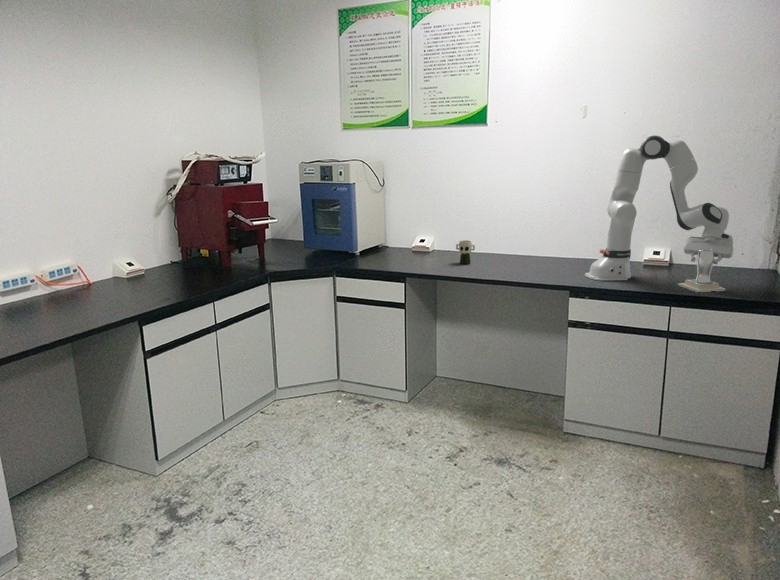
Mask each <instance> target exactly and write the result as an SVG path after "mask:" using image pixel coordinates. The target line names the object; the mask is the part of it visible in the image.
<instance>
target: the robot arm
mask: <svg viewBox="0 0 780 580" xmlns="http://www.w3.org/2000/svg"><path fill="white" fill-rule="evenodd" d="M657 159H664V160H665V162H666V163H667V166H668V168H669V170H670V173H671V180H670V182H669V189H670V193H671V196H672V197H671V198H672V201H673V205H674V210H675V212H676V222H677V224H678V226H679V227H680V228H681V229H682V230H685V231H691V230H694V229H696V228H698V227H704V229H703V231H702V235H701V237H700V236H689V237H687V238H686V241H685V244H684V246H683V252H684V253H685V254H686V255H690V258H691V259H690V261H691V262H692V263H695V262H696V261H697V257H696V256H697V255H698V250H699V249H705V250H703V251H712V250H715V254H714V262H713V265H718V264H719V262H720V261H722V260H723V259H731V258H732V257H733V255H734V245H733V244H734V239H733V236H732V235H731V234H727V233H725V231H726V230H727V227H728V225H729V220H730V215H729V211H728V210H727V209H726V208H725V207H722V206H716V205H715V204H713V203H711V202H705V203H702V204H698V205H697V206H693V207H689V205H688V202H687V197H686V194H685V191H686V187H687V186H688V185H689V184H690V183H691V182H692V181H693V180H694V179H695V177H696V176H697V173H698V172H699V171H698V169H699V167H698V164H697V160H696V158H695V155H693V153H692V151H691V149H690V148H689V146H688V144H687V143H686V142H685V141H683V140H674V141H671V142H669V141H666V140H665V139H664V138H663V137H662V136H661V135H660V136H659V135H650V136H648V137H646V138H645V139H644V140H642V143H641V145H640V146H639V147H635V148H634V147H633V148H631V147H630V148H627V149H625V150H624V152H623V153H622V155H621V159H620V161H619V164H618V168H617V172H616V177H615V183H614V185H613V190H612V192H611V196H610V199H609V203H608V205H607V209H606V210H607V215H608V216H609V218H610V225H609V230H608V232H607V240H606V248H605V250H604V249H602V248H600V249H599V254H602V256H601V257H600V258H598V259H597V260H595V261H593V262H592V263H591V265H590V267H589V272H585V273H584V276H585V277H586V278H588V279H590V280H593V281H628V280H629V279H631V278H632V273H631V267H630V260H631V254H632V252H631V251H632V249H631V243H632V233H633V229H634V225H635V222H636V221H635V220H636V217H637V213H638V212H637V208H636V206H635V204H634V203H633V202H634V199H635V198H636V194H637V192H638V190H639V188H640V184H641V177H642V174H643V169H644V165H645V163H646V161H648V160H649V161H650V160H652V161H653V160H657ZM710 249H712V250H710ZM715 258H716V259H715Z"/></svg>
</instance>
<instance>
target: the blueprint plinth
mask: <svg viewBox="0 0 780 580" xmlns="http://www.w3.org/2000/svg"><path fill="white" fill-rule="evenodd" d="M695 280H696V278H693V279H685V280H684V282H679V283H677V286H679V287H682V288H685V289H686V288H687V289H686V290H689V291H692V292H694V291H695V293H697V292H701V293H712V292H711V291H716V292H725V291H726V288H724V287H722V286H720V283H718V282H715V281H712V280H710V283H699V282H696V281H695Z"/></svg>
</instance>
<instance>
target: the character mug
mask: <svg viewBox="0 0 780 580" xmlns="http://www.w3.org/2000/svg"><path fill="white" fill-rule="evenodd" d="M472 242H473V241H472V240H467V239H466V240H460V241H459V242H458V243H456V244H455V248H456V250H458V251H459V253H461V254H460V258H459V264H465V265H468V264H470V263H471V254H470V253H471V252H472V251H475V249H476V248H475V245H476V244H472Z"/></svg>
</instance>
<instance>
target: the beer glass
mask: <svg viewBox="0 0 780 580" xmlns="http://www.w3.org/2000/svg"><path fill="white" fill-rule="evenodd" d="M703 250H705V249H699V250H698V255H696V270H697V271H696V273H697V274H696V278H695V279H696V280H695V281H696V282H699V283H710V281H711V273H712V269H713V266H714V263H713V262H714V259H715V257H714V254H715V250H712V249H710V250H712V251H703Z"/></svg>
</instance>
